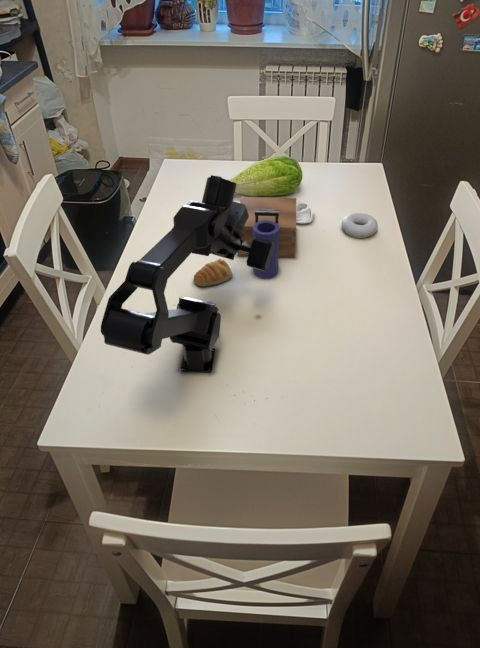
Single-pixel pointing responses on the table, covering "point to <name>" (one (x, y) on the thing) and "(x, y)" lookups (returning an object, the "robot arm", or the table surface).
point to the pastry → (213, 273)
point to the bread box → (285, 242)
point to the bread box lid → (271, 211)
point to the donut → (359, 225)
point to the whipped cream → (303, 213)
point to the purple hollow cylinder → (271, 232)
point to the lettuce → (269, 177)
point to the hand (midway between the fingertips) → (242, 253)
